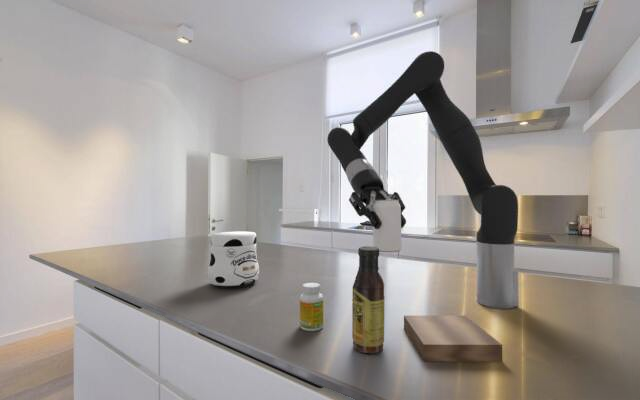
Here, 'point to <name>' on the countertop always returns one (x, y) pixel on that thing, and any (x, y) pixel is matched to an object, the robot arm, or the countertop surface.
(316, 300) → the supplement bottle
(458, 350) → the plinth
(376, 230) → the can
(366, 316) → the sauce bottle
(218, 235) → the milk container
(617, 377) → the countertop surface
